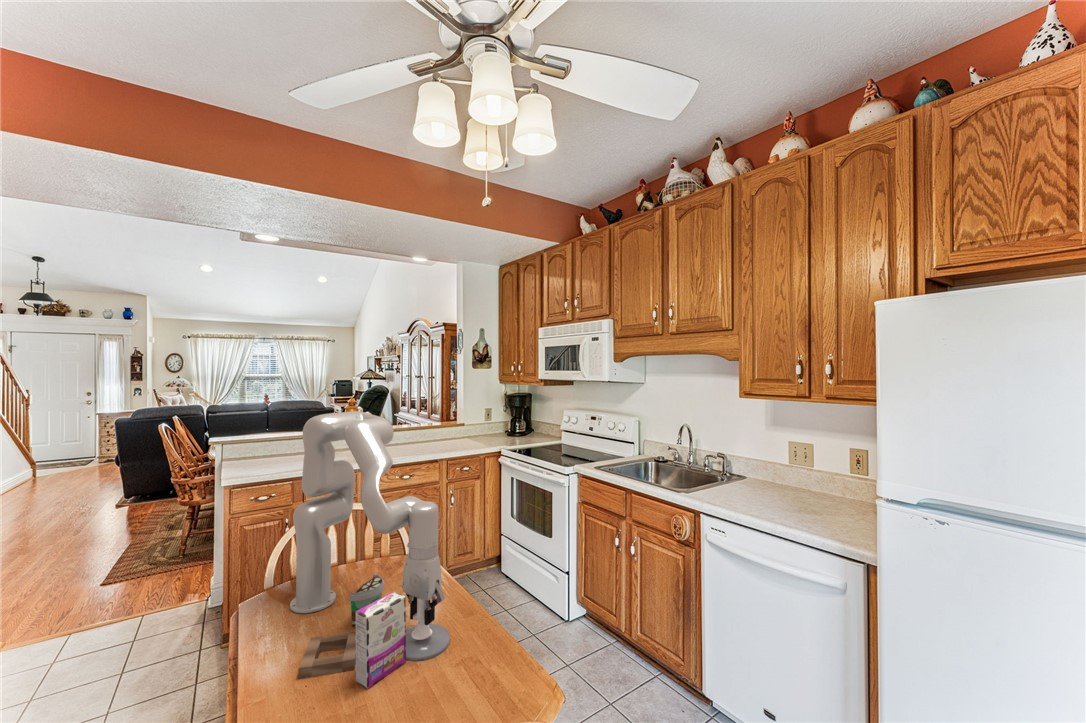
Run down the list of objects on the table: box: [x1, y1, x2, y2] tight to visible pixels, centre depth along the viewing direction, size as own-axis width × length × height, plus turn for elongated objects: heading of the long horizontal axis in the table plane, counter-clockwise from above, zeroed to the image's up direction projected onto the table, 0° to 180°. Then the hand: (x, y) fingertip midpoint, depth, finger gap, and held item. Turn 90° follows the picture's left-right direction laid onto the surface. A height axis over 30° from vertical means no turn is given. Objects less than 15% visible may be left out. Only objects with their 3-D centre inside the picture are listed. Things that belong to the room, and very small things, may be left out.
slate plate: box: [406, 623, 451, 662], centre depth 117 cm, size 14×14×1 cm
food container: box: [348, 573, 385, 628], centre depth 129 cm, size 12×6×10 cm, turn 168°
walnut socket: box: [298, 631, 356, 680], centre depth 111 cm, size 12×12×2 cm
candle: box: [411, 598, 432, 640], centre depth 117 cm, size 5×5×12 cm
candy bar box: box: [354, 591, 407, 690], centre depth 106 cm, size 11×5×16 cm, turn 148°
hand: (422, 619), depth 117 cm, fingers closed on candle, 4 cm apart
